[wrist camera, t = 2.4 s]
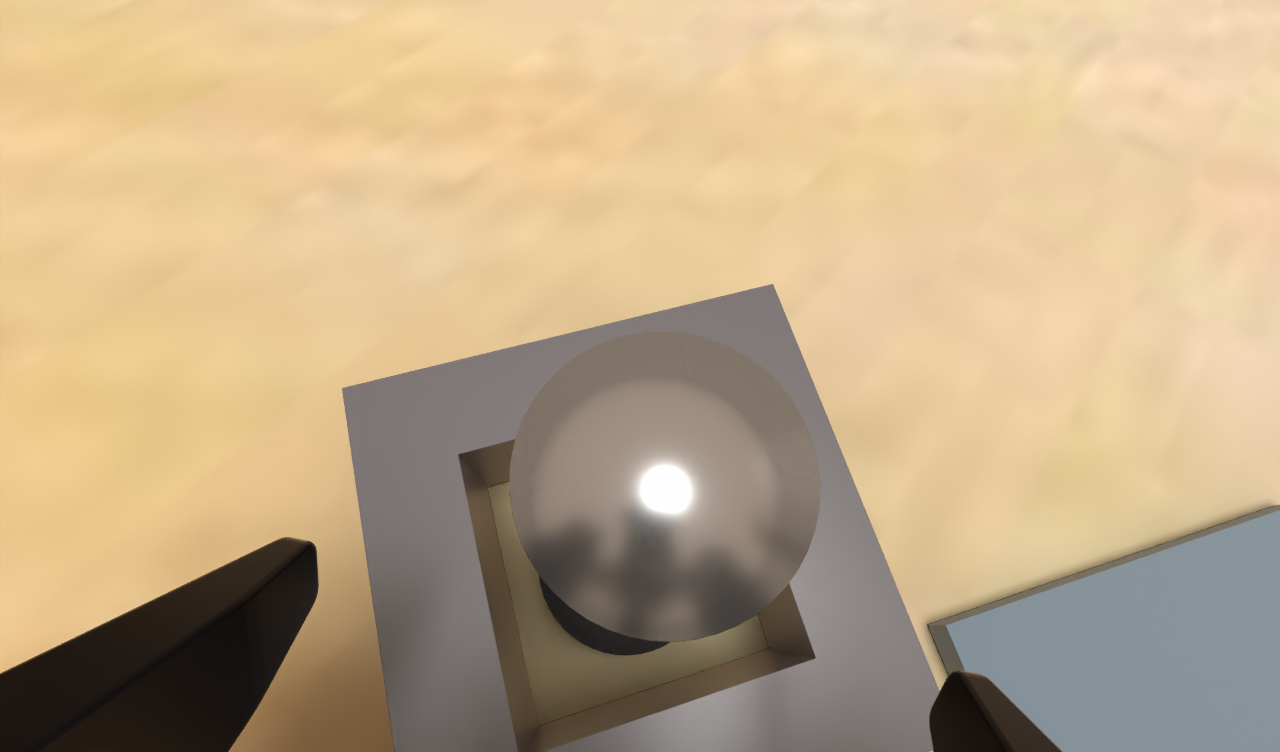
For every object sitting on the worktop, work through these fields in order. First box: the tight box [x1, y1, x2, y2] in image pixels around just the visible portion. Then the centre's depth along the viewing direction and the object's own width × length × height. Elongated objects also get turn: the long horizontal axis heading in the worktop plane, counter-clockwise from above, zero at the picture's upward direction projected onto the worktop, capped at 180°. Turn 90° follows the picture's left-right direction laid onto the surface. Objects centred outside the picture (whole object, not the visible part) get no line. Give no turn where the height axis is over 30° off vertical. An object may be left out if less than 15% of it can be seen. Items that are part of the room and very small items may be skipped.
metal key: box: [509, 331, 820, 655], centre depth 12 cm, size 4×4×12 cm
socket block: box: [342, 284, 940, 752], centre depth 16 cm, size 11×11×4 cm
